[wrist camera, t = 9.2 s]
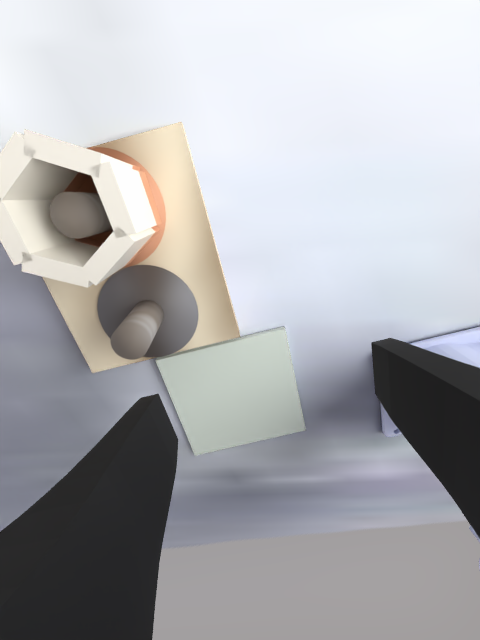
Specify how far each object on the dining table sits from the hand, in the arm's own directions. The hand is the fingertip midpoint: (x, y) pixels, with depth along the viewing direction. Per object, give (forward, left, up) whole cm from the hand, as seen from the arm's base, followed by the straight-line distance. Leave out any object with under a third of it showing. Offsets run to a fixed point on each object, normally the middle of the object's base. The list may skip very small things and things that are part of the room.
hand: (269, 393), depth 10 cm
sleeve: (+6, -7, -9) cm, 13 cm away
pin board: (+6, -4, -10) cm, 12 cm away
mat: (+2, +7, -10) cm, 12 cm away
